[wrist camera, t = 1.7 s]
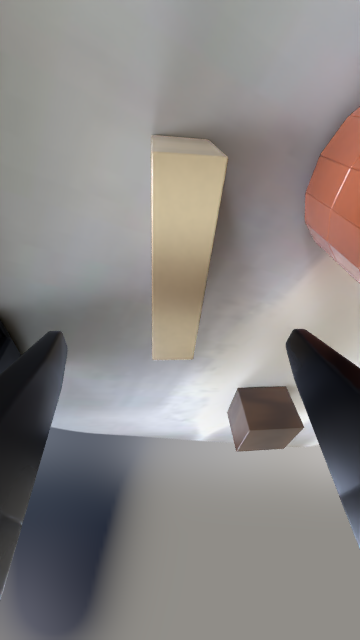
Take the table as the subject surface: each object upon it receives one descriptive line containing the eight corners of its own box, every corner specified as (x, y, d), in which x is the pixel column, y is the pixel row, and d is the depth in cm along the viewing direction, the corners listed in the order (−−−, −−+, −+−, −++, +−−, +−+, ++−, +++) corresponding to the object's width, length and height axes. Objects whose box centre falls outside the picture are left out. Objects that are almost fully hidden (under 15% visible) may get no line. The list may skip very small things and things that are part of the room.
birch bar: (186, 317, 19) (193, 360, 16) (152, 317, 18) (152, 360, 15) (209, 139, 11) (229, 156, 8) (151, 134, 11) (151, 151, 8)
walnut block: (227, 412, 30) (236, 451, 27) (237, 388, 26) (249, 430, 23) (269, 410, 31) (283, 448, 27) (286, 386, 27) (304, 427, 24)
